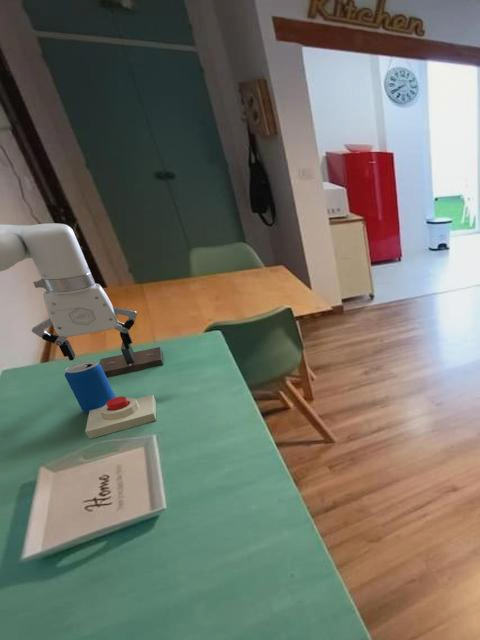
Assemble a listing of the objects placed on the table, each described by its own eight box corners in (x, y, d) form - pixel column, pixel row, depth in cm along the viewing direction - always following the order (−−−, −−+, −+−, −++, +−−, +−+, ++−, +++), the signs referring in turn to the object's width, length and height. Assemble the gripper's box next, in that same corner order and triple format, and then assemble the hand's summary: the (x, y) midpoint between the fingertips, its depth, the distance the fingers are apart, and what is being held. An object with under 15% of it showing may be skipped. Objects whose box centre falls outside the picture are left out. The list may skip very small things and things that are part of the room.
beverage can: (122, 405, 106) (104, 364, 101) (89, 418, 101) (68, 375, 96) (111, 397, 109) (93, 357, 104) (79, 410, 104) (57, 368, 99)
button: (108, 413, 97) (105, 406, 96) (109, 405, 100) (106, 399, 99) (128, 407, 99) (125, 401, 99) (129, 400, 102) (126, 394, 101)
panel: (100, 379, 117) (97, 372, 116) (103, 364, 124) (100, 358, 123) (163, 365, 125) (160, 358, 124) (162, 352, 132) (160, 346, 131)
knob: (133, 362, 122) (127, 347, 120) (126, 363, 121) (120, 348, 119) (134, 354, 126) (128, 339, 124) (127, 355, 125) (121, 341, 123)
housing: (89, 439, 94) (81, 425, 92) (93, 417, 101) (86, 404, 100) (156, 420, 101) (150, 406, 99) (155, 401, 108) (150, 388, 106)
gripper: (8, 295, 83) (46, 369, 90) (122, 280, 93) (148, 348, 100) (14, 285, 88) (51, 356, 95) (122, 272, 98) (147, 337, 105)
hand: (101, 352), depth 98 cm, fingers open, 9 cm apart
